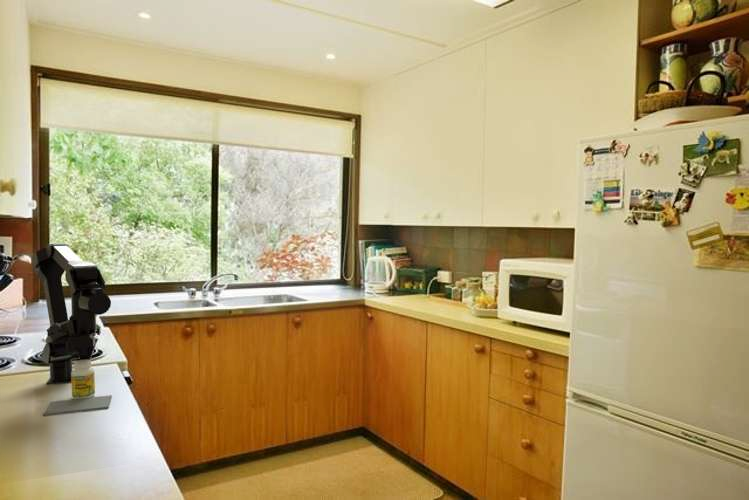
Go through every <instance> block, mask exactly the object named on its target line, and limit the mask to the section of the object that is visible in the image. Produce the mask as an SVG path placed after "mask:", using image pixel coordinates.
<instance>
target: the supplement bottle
mask: <svg viewBox="0 0 749 500" xmlns="http://www.w3.org/2000/svg"><path fill="white" fill-rule="evenodd" d="M73 368H74V369H73V371H72V373H71V380H72V382H71V397H72V399H81V398H90V397H95V394H96V385H95V384H96V383H95V379H96V378H95V369H94V368H93V367H92V361H91V359H90V360H80V359H79V360H76V361H74V362H73Z"/></svg>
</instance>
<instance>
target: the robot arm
mask: <svg viewBox="0 0 749 500" xmlns="http://www.w3.org/2000/svg"><path fill="white" fill-rule="evenodd" d="M30 263H31V267H32V269H33V271H34V274H35V276H36V277H37V278H38V279H39V280H40V281H41V282H42V283H43V288H44V295H45V301H46V308H47V313H48V315H47V316H48V318H49V319H48V320H49V327H48V328H47V329H46V333H47V334H46V335H47V336H46V338H45V345H44V347H43V349H42V352H41V361H42V363H45V364H47V365H49V379H48V380H47V381H46V384H47V385H53V384H63V383H64V384H65V383H72V380H71V373H72V371H73V370H74V369H73V368H74V367H73V360H74V359H79V360H91V358H92V356H93V353H94V351H95V348H96V345H97V343H98V341H99V338H98V337H97V338H95V336H94V334H95V335H97V336H101V333H102V332H101V331H102V330H101V329H102V328H101V325H99V324H98V323H97V316H100V315H104V314H105V313H107V312H108V311H109V310H110V309H111V306H112V300H111V299H110V296H108V294H106V293H105V292H104V290H106V281H105V279H104V277H103V275H102V273H101V270H100V268H99V267H98V266H97V264H95V263H93V262H91V261H87V260H83V259H81V258H80V257H79V256H78V255H77V254H76V253H75V252H74V251H73V250H72V249H71V248H70V245H69V244H68V243H65V242H64V243H61V242H60V243H49V244H47V245H46V246H45V247H43V248H41V249H39V250H37V251H35V253H33V255H32V257H31V258H30ZM64 273H65V275H64ZM63 275H64V277H65V282H66V283H67V285H68V287H69V288H70V289H69V293H70V294H71V296H70V297H71V298H70V299H71V305H70V306H71V315H70V316H68V310H67V304H66V298H65V293H64V287H63V281H62V278H63Z"/></svg>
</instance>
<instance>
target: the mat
mask: <svg viewBox="0 0 749 500" xmlns="http://www.w3.org/2000/svg"><path fill="white" fill-rule="evenodd" d="M112 397H113V396H112V395H111V394H110V395H102V396H92V397H90V398H81V399H74V398H72V399H63V400H54V401H50V402H49V404H48V405H47V407H46V409H45V410H44V412H43V413H42V416H43V417H45V416H46V417H47V416H53V415H65V414H70V413H72V414H73V413H80V412H88V411H89V412H90V411H96V410H97V411H98V410H107V409H109V407H110V403H111V400H112Z"/></svg>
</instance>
